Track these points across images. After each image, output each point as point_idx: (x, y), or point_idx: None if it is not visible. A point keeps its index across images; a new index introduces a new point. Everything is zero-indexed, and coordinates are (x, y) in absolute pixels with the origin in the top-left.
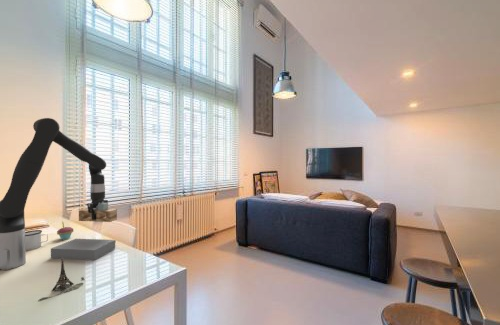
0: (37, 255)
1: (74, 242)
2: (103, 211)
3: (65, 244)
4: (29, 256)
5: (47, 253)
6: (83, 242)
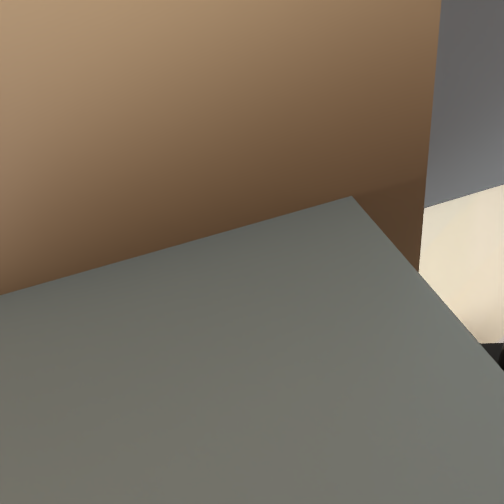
0: (466, 258)
1: (445, 122)
2: (409, 94)
3: (497, 146)
4: (478, 279)
5: (437, 241)
6: (449, 8)
